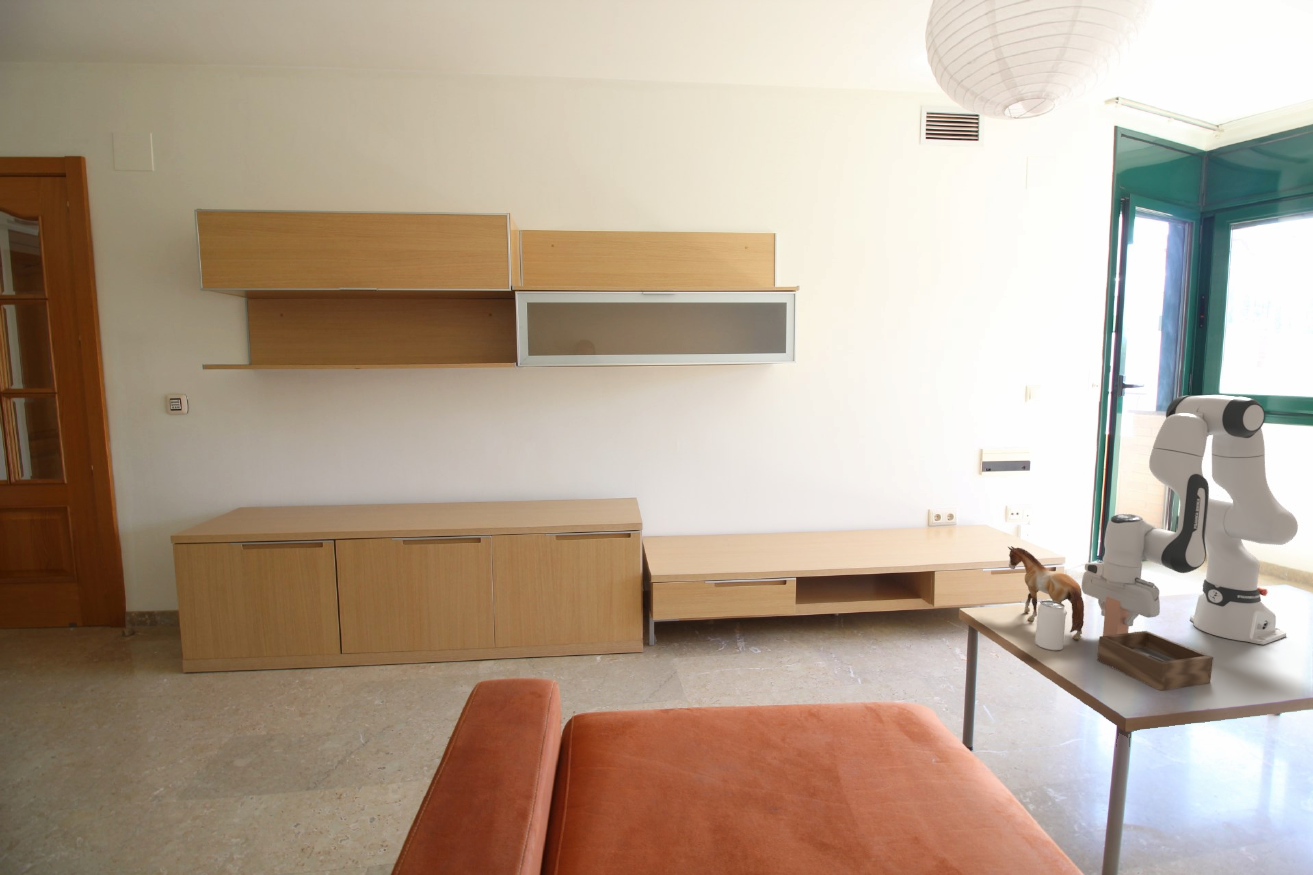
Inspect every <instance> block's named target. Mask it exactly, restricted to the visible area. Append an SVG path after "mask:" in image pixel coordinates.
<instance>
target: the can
mask: <svg viewBox="0 0 1313 875" xmlns="http://www.w3.org/2000/svg"><path fill="white" fill-rule="evenodd" d="M1039 602H1040V603H1039V605H1038V607H1037V616H1036V617H1037V618H1036V626H1035V627H1036V628H1035V639H1034V640H1035V641H1034V642H1035V644H1036V645H1037V647H1039V648H1042V649H1043V650H1047V651H1053V652H1057V651H1058V652H1059V651H1062V650H1063V649H1064V641H1065V628H1066V618H1067V616H1066V615H1067V614H1066V612H1067V610H1066V609H1065V607H1066V606H1065V604H1063V603H1062V602H1061V603H1059V602H1056V601H1052V600H1051V599H1049V600H1047V599H1045V600H1041V601H1039Z"/></svg>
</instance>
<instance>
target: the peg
mask: <svg viewBox="0 0 1313 875" xmlns="http://www.w3.org/2000/svg"><path fill="white" fill-rule="evenodd" d="M1120 603H1121V602H1120V601H1117V600H1114V599H1112V598H1109V597H1106V606H1105V616H1103V617H1104V620H1103V630H1102V636H1108V635H1116V634H1124V633H1129V627H1130V626H1127V625H1124V624H1123V622H1124V621H1123V620H1124V618H1128V617H1129V615H1130V614H1128V610H1126V609H1123V608H1121V607H1120Z"/></svg>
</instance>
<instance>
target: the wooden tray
mask: <svg viewBox="0 0 1313 875" xmlns="http://www.w3.org/2000/svg"><path fill="white" fill-rule="evenodd" d="M1097 649H1098V650H1097V660H1096V661H1098V662H1099V663H1101V662H1102V664H1104V665H1106V666H1108V667H1109V668H1112V669H1114V670H1116V671H1118V672H1121V673H1123V674H1124V673H1125V674H1124V675H1127V676H1128V677H1131V678H1133V679H1135V680H1137V681H1139V682H1142V683H1144V684H1145V685H1148V686H1150V687H1152V688H1154V689H1156V690H1157V691H1167V690H1171V689H1172V690H1174V689H1181V688H1186V687H1193V686H1199V685H1205V684H1211V678H1212V670H1213V664H1214V663H1213V661H1214V657H1213V656H1211V655H1208V654H1206V653H1203V652H1202V651H1199V650H1195V649H1194V648H1191V647H1188V646H1185V645H1183V644H1181V643H1179V642H1176V641H1173V640H1171V639H1169V638H1166V637H1163V636H1161V635H1158V634H1155V633H1153V632H1151V631H1148V630H1142V631H1134V632H1128V633H1124V634H1116V635H1108V636H1103V635H1101V636H1099V637H1098V648H1097Z"/></svg>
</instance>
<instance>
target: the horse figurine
mask: <svg viewBox="0 0 1313 875" xmlns="http://www.w3.org/2000/svg"><path fill="white" fill-rule="evenodd" d="M1007 548H1008V549H1009V554H1008V556H1009V563H1008V567H1009V568H1010V569H1012V570H1014V569H1016V567H1017V565H1019V564H1020V563H1022V564H1023V566H1024V569H1025V574H1024V583H1025V584H1026V586H1027V588H1028V591H1029V593H1028V594H1027V599H1026V601H1025V603H1024V604H1025V607H1024V613H1030V611H1031V608H1030V607H1029V606H1030V604H1032V607H1033V608H1032V609H1033V611H1032V614H1031V615H1030V616H1028V618H1027V620H1028V621H1029V622H1034V620H1035V618H1036V617H1037V615H1038V607H1037V605H1038V596H1037V593H1038V592H1042V593H1044V594H1046V595H1048V596H1049V598H1050V600H1051V601H1056V602H1059V603H1062V602H1064V601H1066V600H1068V601H1069V603H1070V604H1071V612H1072V613H1071V629H1070V630H1069V633H1073V632H1074V631H1075V632H1076V633H1074V635H1073V636H1072V639H1074V640H1081V638H1082V636H1081V635H1082V634H1083V631H1082V629H1083V626H1084V619H1085V618H1084V617H1085V612H1084V611H1085V605H1084V600H1083V597H1082V594H1083V592H1082V588H1081V585H1080V584H1079V582H1077V581H1076V580H1075V579H1074V578H1073V577H1072V576H1070V575H1069V574H1066V573H1062V572H1061V573H1060V572H1054V571H1051V570H1049V569H1048V568H1047V567H1045V566H1044V565H1043V564H1042V563H1041V562H1040V561H1039V560H1038V558H1036V557H1035V556H1034V555H1033V554H1032V553H1030V552H1029V551H1028V550H1026V549H1024V548H1022V547H1021V548H1020V547H1014V546H1007ZM1067 613H1068V612H1067V611H1066V615H1067Z"/></svg>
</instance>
